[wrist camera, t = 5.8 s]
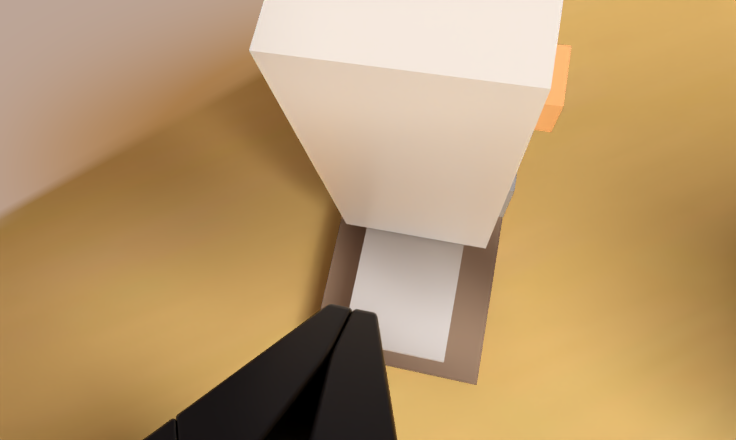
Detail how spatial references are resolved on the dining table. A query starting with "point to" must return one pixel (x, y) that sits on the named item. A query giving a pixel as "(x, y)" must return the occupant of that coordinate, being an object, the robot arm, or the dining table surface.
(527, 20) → the switch module
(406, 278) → the rail board
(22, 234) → the dining table surface
